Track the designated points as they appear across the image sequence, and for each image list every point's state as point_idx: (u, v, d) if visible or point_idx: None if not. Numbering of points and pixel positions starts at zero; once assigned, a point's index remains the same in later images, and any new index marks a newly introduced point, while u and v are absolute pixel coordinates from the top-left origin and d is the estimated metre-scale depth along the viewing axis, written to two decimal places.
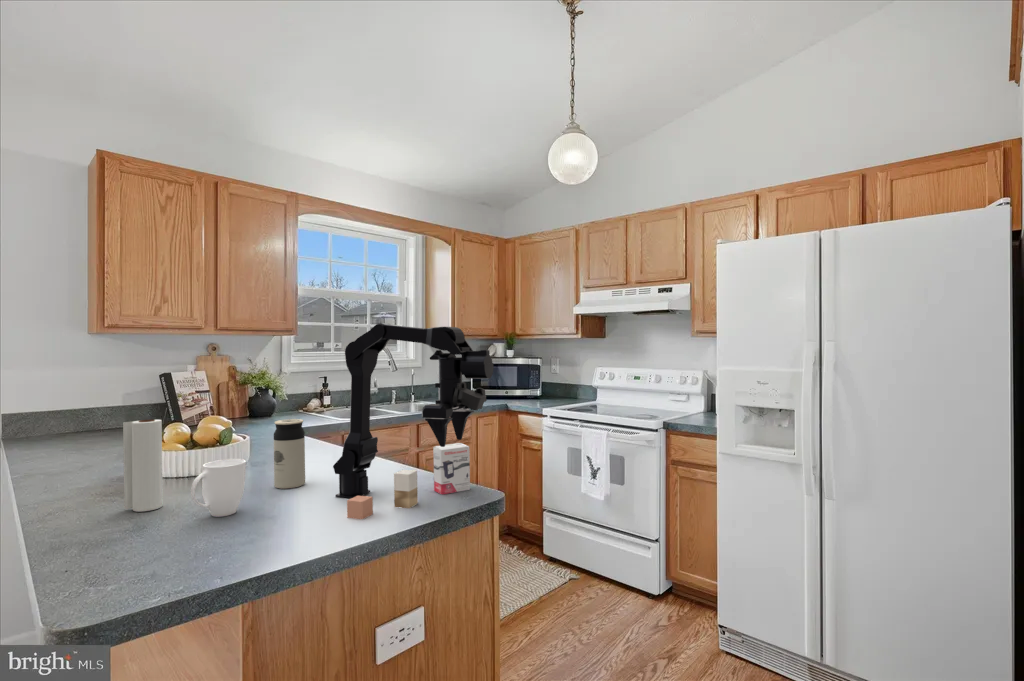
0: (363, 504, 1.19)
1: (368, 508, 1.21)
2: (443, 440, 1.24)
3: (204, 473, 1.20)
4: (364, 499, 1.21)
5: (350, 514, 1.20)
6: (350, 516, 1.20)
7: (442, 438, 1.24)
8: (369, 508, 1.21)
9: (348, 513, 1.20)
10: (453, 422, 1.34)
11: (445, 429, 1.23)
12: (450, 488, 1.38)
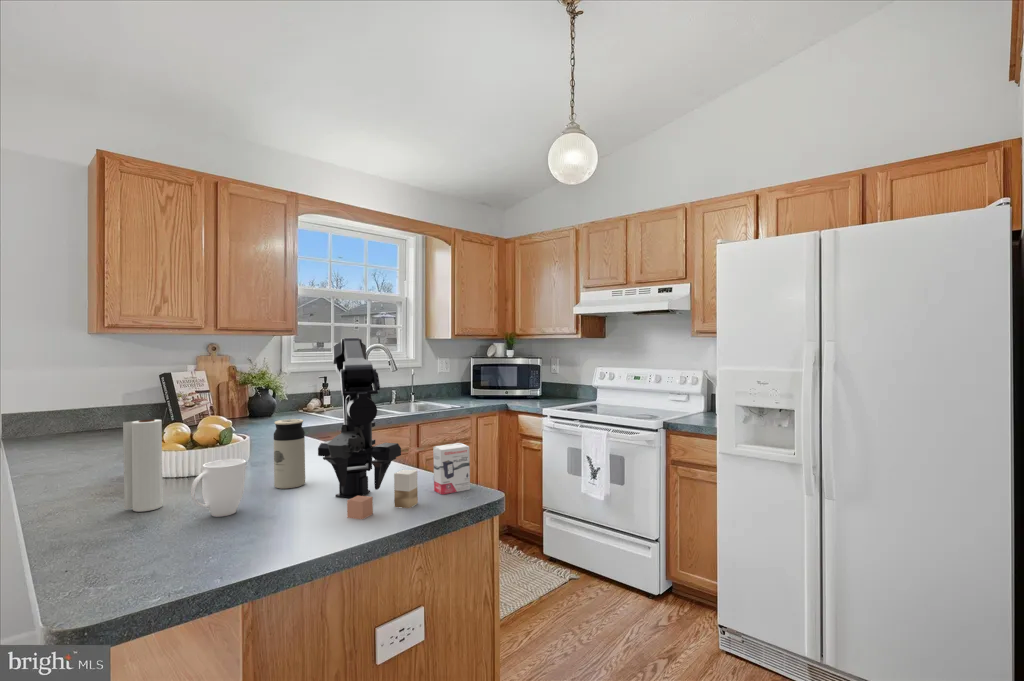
0: (363, 504, 1.19)
1: (368, 508, 1.21)
2: None
3: (204, 473, 1.20)
4: (364, 499, 1.21)
5: (350, 514, 1.20)
6: (350, 516, 1.20)
7: None
8: (369, 508, 1.21)
9: (348, 513, 1.20)
10: None
11: (335, 468, 1.22)
12: (450, 488, 1.38)
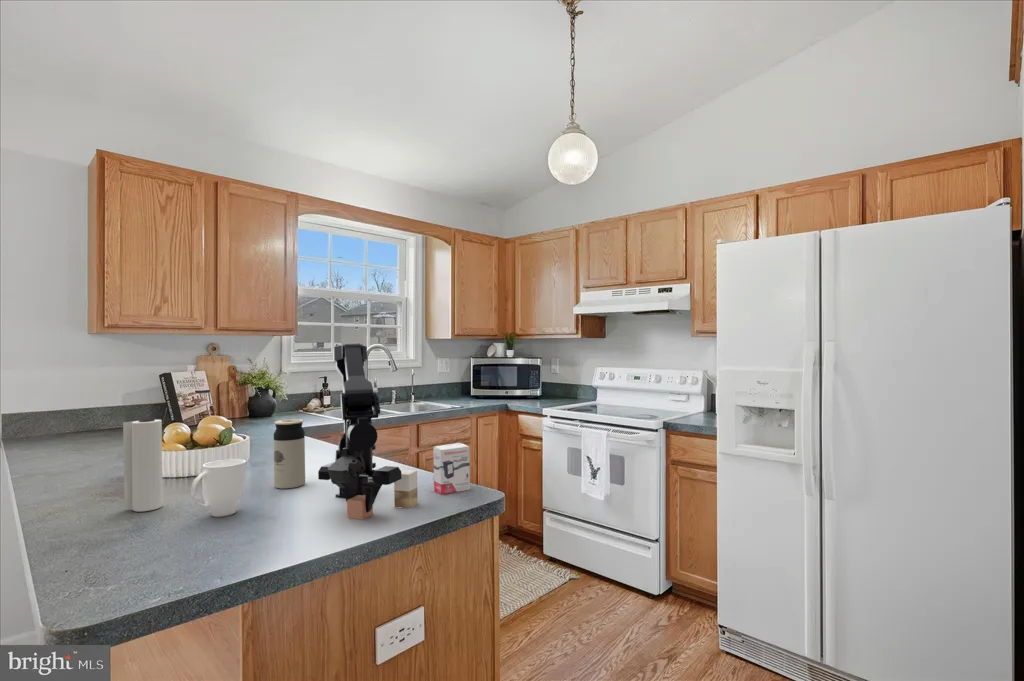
0: (363, 503, 1.19)
1: None
2: None
3: (204, 473, 1.20)
4: (364, 499, 1.21)
5: (350, 514, 1.20)
6: (350, 516, 1.20)
7: None
8: None
9: (348, 512, 1.20)
10: None
11: (344, 492, 1.21)
12: (450, 488, 1.38)
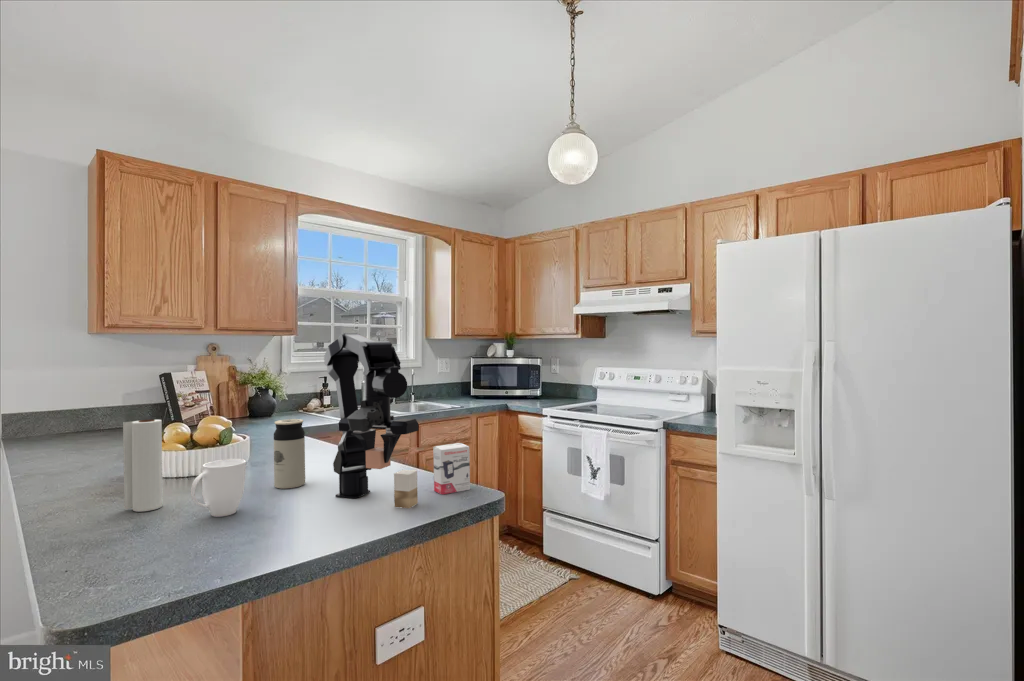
0: (381, 454, 1.22)
1: None
2: None
3: (204, 473, 1.20)
4: (382, 450, 1.23)
5: (368, 464, 1.23)
6: (368, 466, 1.23)
7: None
8: None
9: (367, 463, 1.23)
10: None
11: (363, 444, 1.24)
12: (450, 488, 1.38)
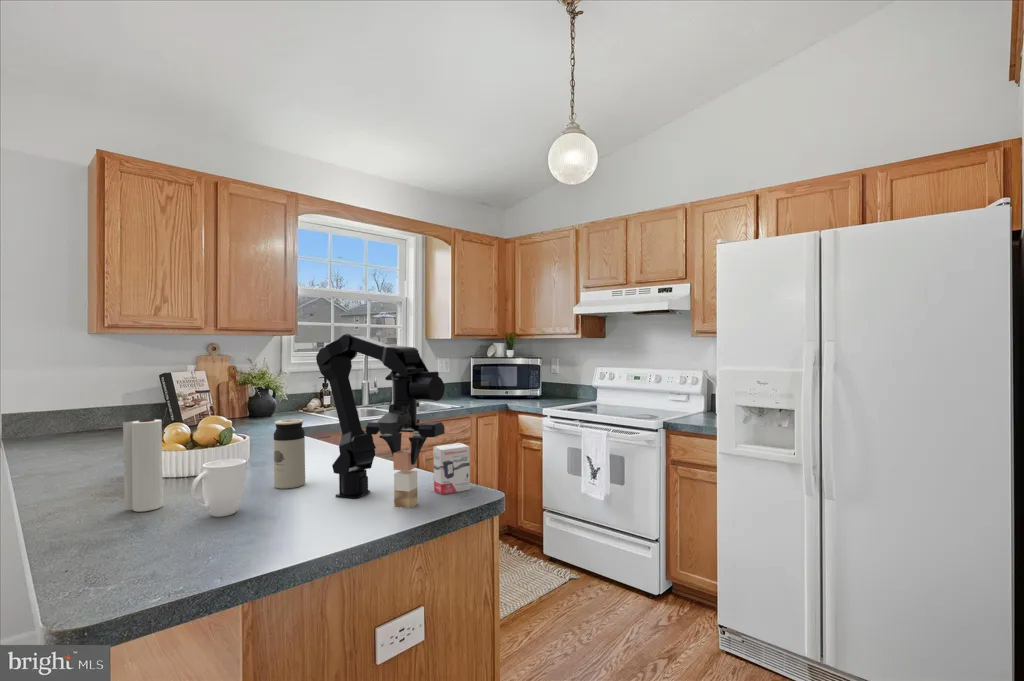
0: (409, 456, 1.27)
1: None
2: None
3: (204, 473, 1.20)
4: (409, 452, 1.28)
5: (396, 466, 1.27)
6: (396, 468, 1.27)
7: None
8: None
9: (395, 465, 1.27)
10: None
11: (390, 446, 1.29)
12: (450, 488, 1.38)
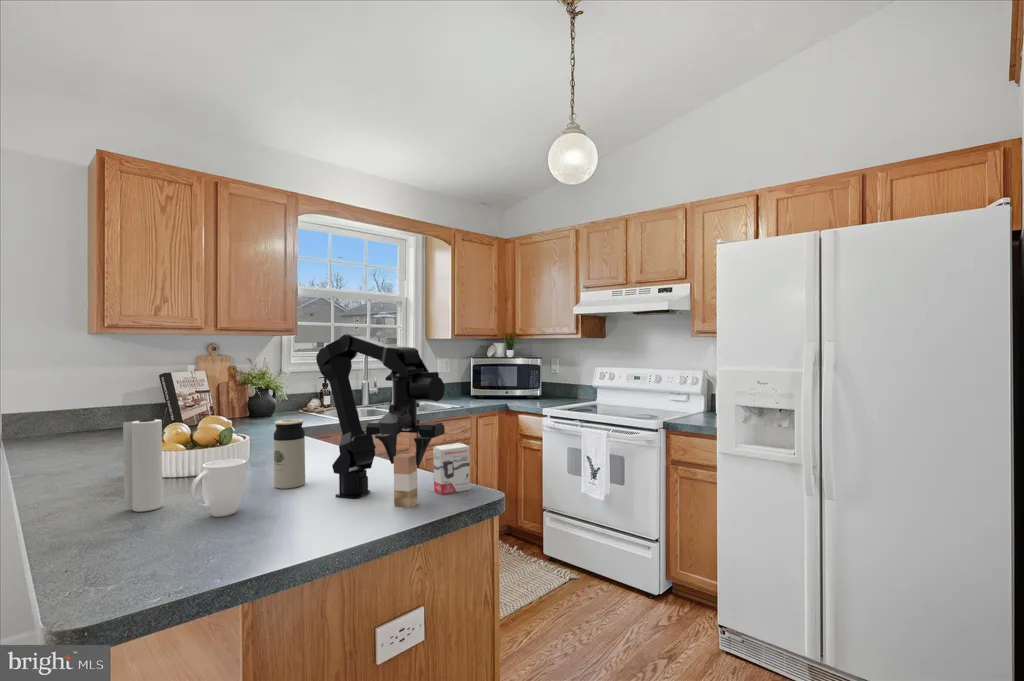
0: (409, 459, 1.27)
1: (413, 464, 1.28)
2: None
3: (204, 473, 1.20)
4: (409, 456, 1.28)
5: (396, 469, 1.27)
6: (396, 471, 1.27)
7: None
8: (414, 464, 1.29)
9: (395, 468, 1.27)
10: None
11: (386, 446, 1.29)
12: (450, 488, 1.38)
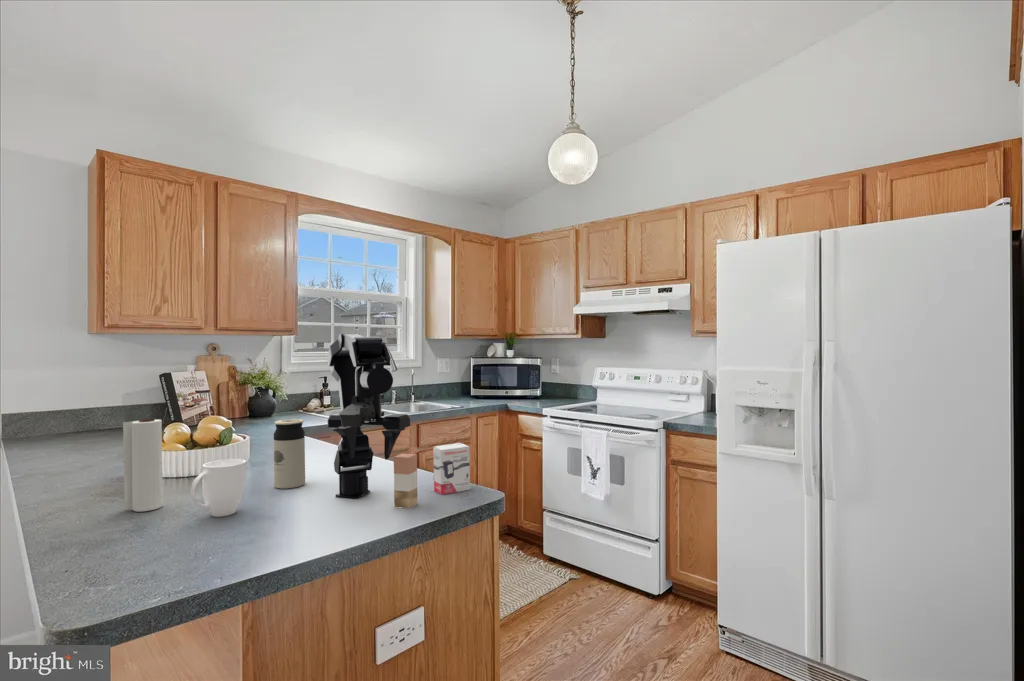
0: (409, 459, 1.27)
1: (413, 464, 1.28)
2: None
3: (204, 473, 1.20)
4: (409, 456, 1.28)
5: (396, 469, 1.27)
6: (396, 471, 1.27)
7: None
8: (414, 464, 1.29)
9: (395, 468, 1.27)
10: None
11: (344, 440, 1.24)
12: (450, 488, 1.38)
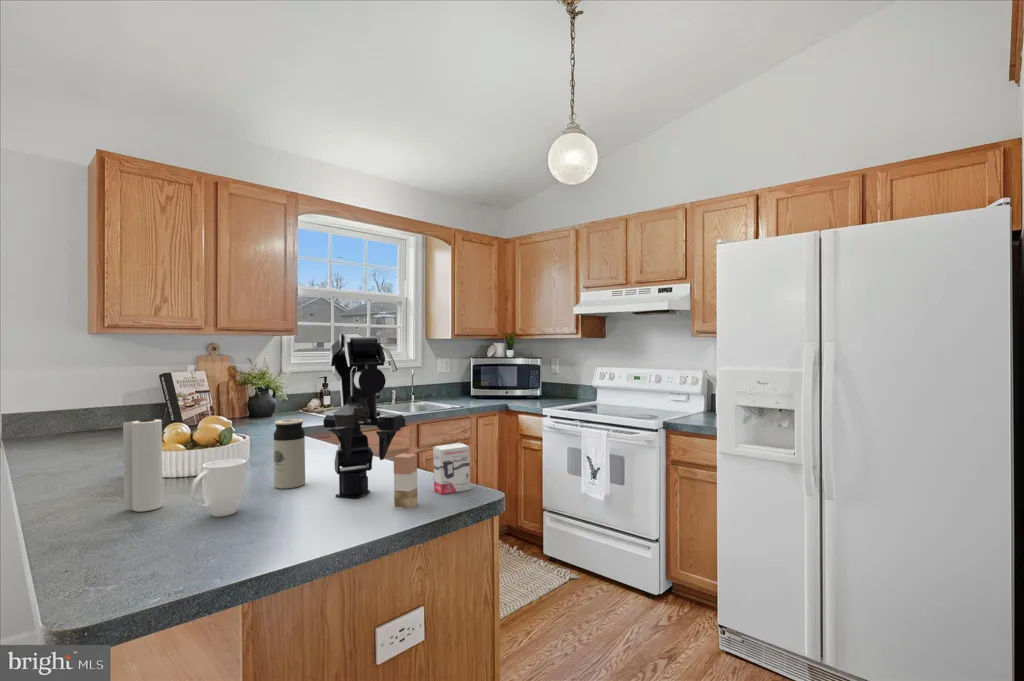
0: (409, 459, 1.27)
1: (413, 464, 1.28)
2: None
3: (204, 473, 1.20)
4: (409, 456, 1.28)
5: (396, 469, 1.27)
6: (396, 471, 1.27)
7: None
8: (414, 464, 1.29)
9: (395, 468, 1.27)
10: None
11: (340, 440, 1.24)
12: (450, 488, 1.38)
